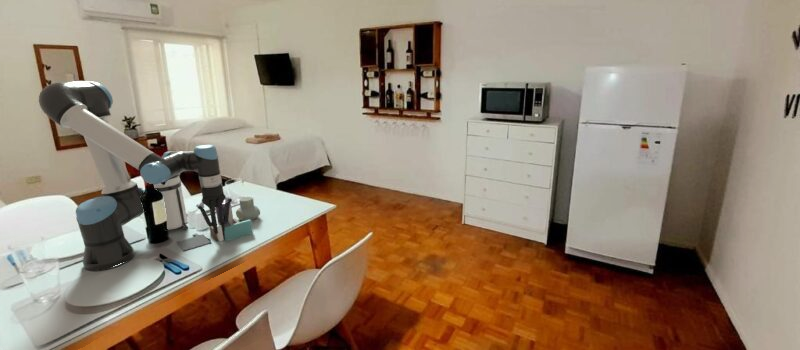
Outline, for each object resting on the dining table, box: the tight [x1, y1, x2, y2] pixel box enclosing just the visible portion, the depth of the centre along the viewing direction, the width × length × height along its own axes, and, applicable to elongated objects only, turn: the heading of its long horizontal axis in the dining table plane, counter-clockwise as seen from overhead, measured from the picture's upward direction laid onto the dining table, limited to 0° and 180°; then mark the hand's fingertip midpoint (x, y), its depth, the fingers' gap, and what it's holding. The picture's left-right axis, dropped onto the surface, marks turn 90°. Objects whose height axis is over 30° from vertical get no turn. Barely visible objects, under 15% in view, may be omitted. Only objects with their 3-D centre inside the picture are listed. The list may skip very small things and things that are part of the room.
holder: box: [208, 217, 240, 242], centre depth 159 cm, size 11×9×4 cm
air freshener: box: [235, 196, 261, 222], centre depth 173 cm, size 11×8×10 cm
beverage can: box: [215, 200, 234, 238], centre depth 157 cm, size 6×6×15 cm
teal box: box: [224, 219, 254, 242], centre depth 156 cm, size 11×2×7 cm, turn 132°
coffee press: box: [154, 173, 189, 231], centre depth 161 cm, size 17×16×30 cm
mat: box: [176, 234, 212, 252], centre depth 152 cm, size 10×10×1 cm
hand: (220, 239), depth 151 cm, fingers closed
